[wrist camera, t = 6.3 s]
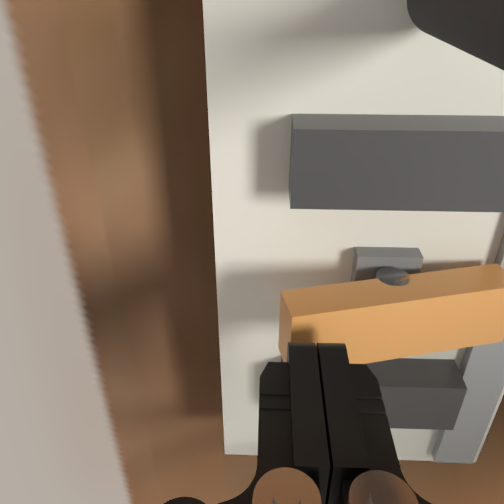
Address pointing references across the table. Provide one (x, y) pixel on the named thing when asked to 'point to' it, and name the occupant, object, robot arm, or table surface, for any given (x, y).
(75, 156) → the table surface
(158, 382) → the table surface
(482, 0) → the dark grey peg
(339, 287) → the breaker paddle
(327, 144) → the breaker board
